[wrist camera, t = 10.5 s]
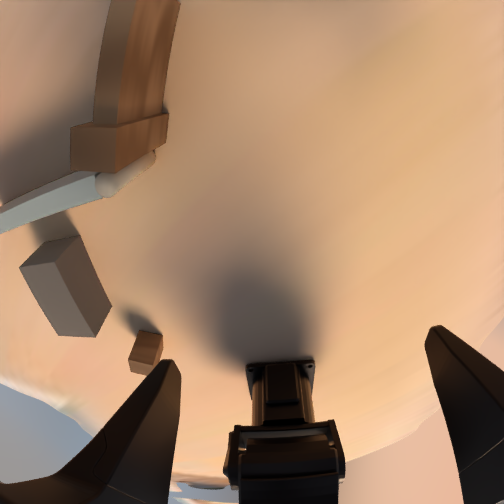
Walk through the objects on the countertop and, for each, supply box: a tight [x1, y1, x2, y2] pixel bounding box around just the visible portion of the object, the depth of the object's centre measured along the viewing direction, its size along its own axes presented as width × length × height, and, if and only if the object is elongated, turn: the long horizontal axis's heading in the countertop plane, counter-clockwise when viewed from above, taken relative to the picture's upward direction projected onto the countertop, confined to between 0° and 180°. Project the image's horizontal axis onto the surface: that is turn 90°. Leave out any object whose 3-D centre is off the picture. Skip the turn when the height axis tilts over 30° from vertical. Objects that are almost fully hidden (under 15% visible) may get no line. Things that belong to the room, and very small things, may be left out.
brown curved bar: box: [70, 0, 180, 376], centre depth 15 cm, size 27×2×7 cm, turn 170°
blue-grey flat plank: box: [0, 150, 156, 234], centre depth 15 cm, size 16×1×6 cm, turn 100°
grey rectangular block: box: [19, 235, 112, 337], centre depth 20 cm, size 7×4×4 cm, turn 8°
